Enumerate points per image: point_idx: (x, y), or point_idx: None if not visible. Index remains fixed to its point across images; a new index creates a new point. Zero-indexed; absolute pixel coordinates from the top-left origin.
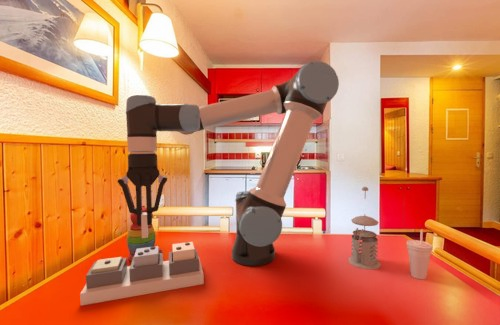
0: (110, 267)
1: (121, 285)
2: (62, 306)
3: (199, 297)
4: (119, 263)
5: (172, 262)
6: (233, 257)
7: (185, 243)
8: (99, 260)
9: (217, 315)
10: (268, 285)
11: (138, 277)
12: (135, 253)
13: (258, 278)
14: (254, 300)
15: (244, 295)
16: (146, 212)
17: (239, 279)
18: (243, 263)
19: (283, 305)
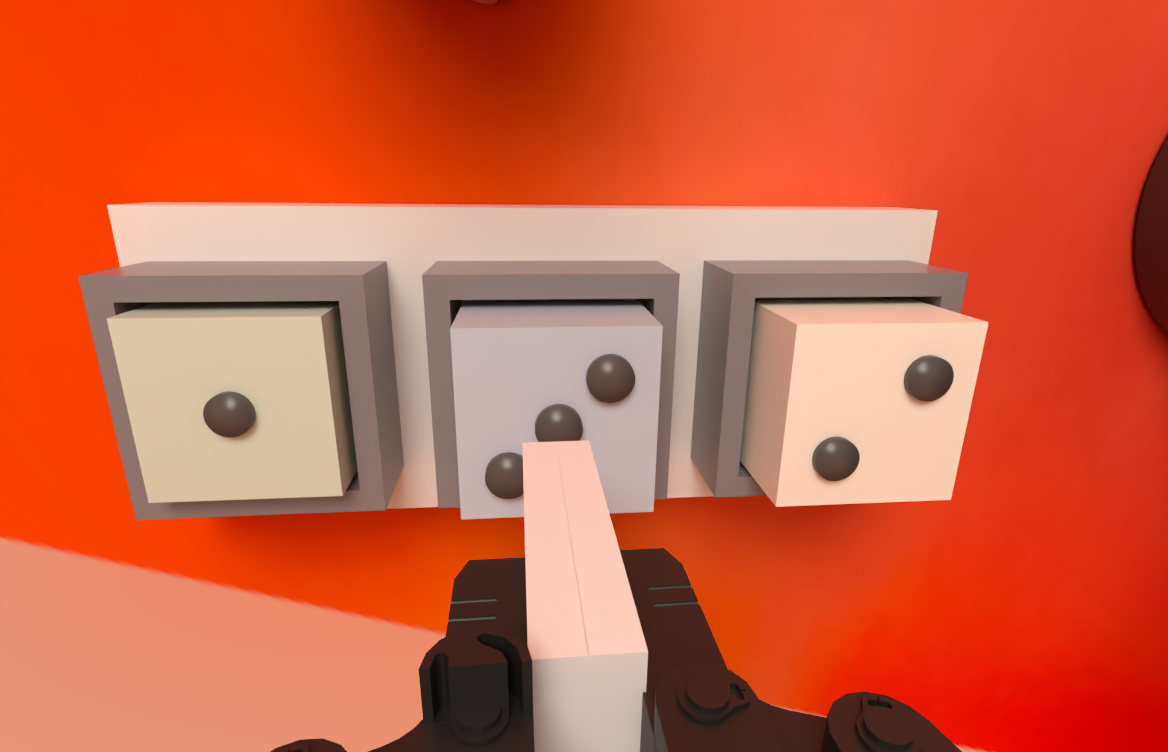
0: (289, 495)
1: (405, 491)
2: (104, 460)
3: (801, 568)
4: (338, 424)
5: (740, 487)
6: (1156, 224)
7: (915, 376)
8: (130, 341)
9: (836, 694)
10: (1129, 560)
11: None
12: (460, 449)
13: (1129, 489)
14: (1008, 645)
15: (990, 604)
16: (623, 661)
17: (1040, 470)
18: (1162, 318)
19: (1086, 697)
